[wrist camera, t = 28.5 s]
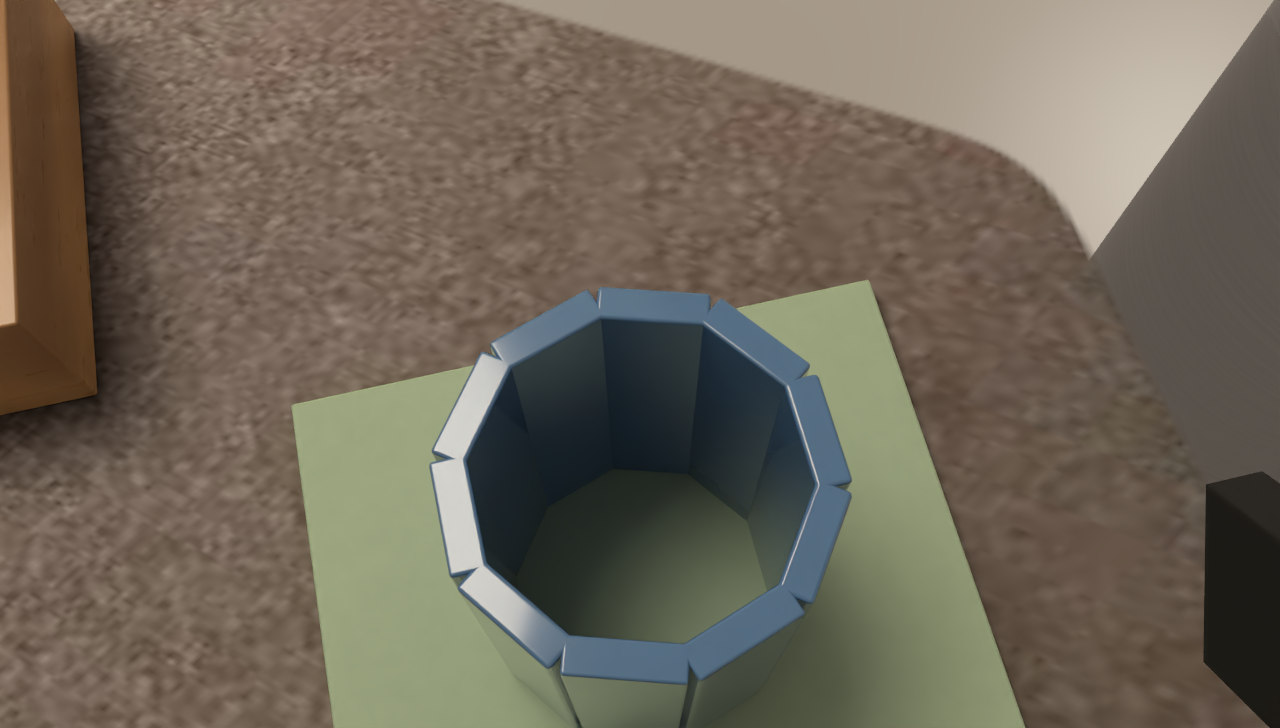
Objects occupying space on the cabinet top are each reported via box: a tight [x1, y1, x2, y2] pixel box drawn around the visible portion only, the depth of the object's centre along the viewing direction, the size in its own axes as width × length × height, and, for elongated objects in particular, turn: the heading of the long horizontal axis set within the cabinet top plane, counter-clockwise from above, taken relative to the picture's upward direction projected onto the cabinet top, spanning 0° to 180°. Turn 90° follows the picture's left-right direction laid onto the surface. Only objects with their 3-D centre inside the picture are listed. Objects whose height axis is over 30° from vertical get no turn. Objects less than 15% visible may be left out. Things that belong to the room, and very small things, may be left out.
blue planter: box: [429, 287, 852, 728], centre depth 23 cm, size 6×7×8 cm
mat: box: [291, 280, 1026, 728], centre depth 27 cm, size 14×12×1 cm
